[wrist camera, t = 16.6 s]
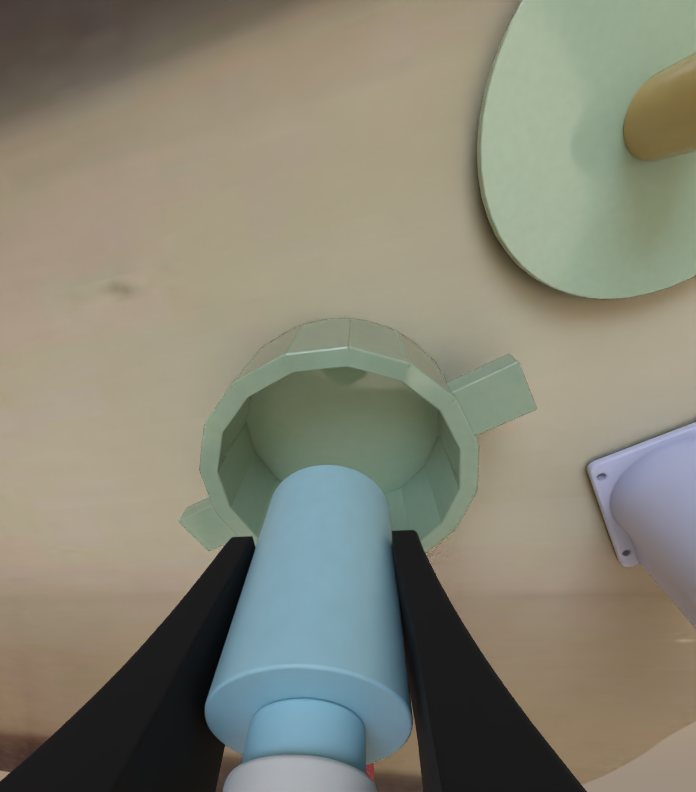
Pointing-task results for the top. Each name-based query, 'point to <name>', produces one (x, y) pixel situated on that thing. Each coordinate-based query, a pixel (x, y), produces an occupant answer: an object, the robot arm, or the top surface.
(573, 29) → the lid
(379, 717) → the water bottle
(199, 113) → the top surface
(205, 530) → the pot
